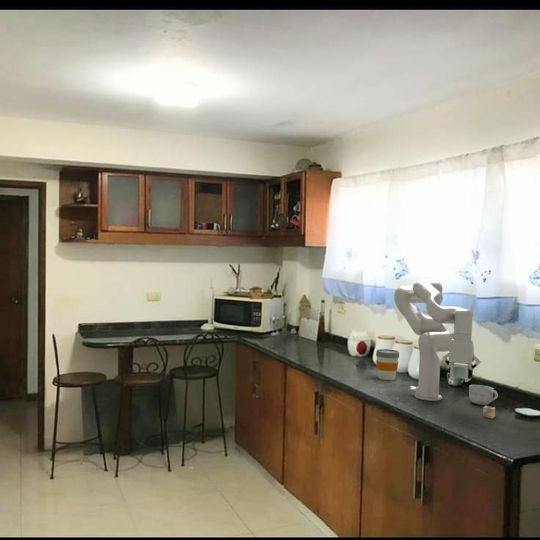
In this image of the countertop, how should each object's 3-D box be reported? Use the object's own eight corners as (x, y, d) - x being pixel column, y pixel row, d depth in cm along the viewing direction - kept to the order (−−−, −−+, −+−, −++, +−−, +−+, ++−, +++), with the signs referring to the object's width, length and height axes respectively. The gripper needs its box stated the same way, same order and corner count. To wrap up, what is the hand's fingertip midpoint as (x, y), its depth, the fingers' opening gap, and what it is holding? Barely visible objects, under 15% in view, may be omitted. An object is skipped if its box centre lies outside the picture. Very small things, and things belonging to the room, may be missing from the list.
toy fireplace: (450, 379, 253) (450, 364, 253) (454, 377, 258) (454, 362, 258) (466, 381, 249) (467, 367, 249) (470, 379, 254) (471, 365, 254)
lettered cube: (482, 416, 246) (483, 407, 246) (484, 414, 249) (485, 405, 249) (492, 418, 244) (493, 409, 244) (494, 416, 247) (495, 407, 247)
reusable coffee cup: (394, 381, 307) (395, 354, 306) (371, 378, 313) (372, 351, 312) (401, 377, 318) (402, 350, 317) (379, 374, 324) (380, 348, 323)
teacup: (463, 401, 271) (464, 384, 271) (481, 399, 275) (482, 383, 275) (484, 409, 258) (485, 391, 258) (503, 407, 262) (504, 390, 262)
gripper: (440, 335, 255) (438, 375, 255) (480, 340, 245) (478, 381, 246) (445, 334, 261) (443, 372, 262) (484, 338, 252) (482, 378, 252)
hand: (460, 376), depth 254 cm, fingers closed on toy fireplace, 7 cm apart
